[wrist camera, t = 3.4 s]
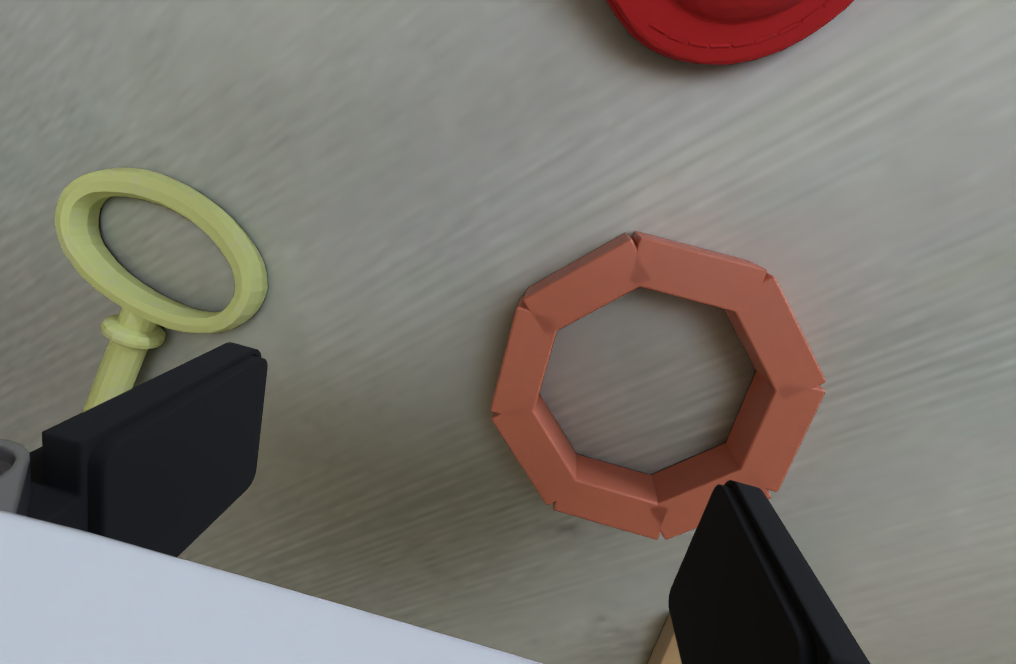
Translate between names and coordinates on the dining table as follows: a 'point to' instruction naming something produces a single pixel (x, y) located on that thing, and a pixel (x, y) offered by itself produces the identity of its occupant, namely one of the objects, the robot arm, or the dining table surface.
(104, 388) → the key
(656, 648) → the peg stand
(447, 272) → the dining table surface
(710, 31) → the tracker holder
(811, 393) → the ring
